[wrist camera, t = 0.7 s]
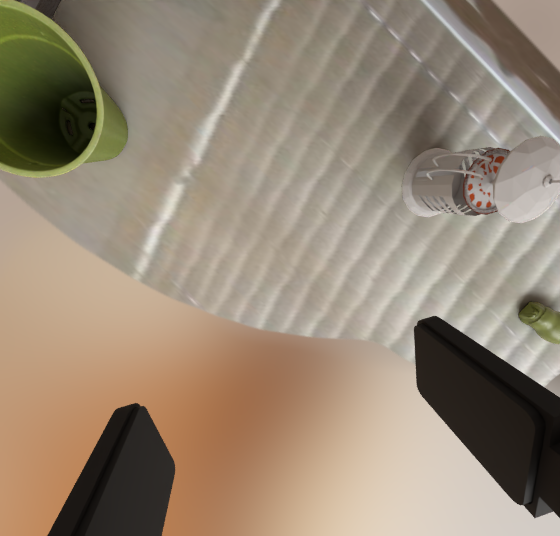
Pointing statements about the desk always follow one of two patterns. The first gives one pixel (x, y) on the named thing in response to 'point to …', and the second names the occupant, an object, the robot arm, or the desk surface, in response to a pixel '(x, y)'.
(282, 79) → the desk surface
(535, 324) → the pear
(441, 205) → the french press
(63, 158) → the plant pot
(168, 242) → the desk surface
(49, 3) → the square metal frame
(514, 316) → the desk surface
